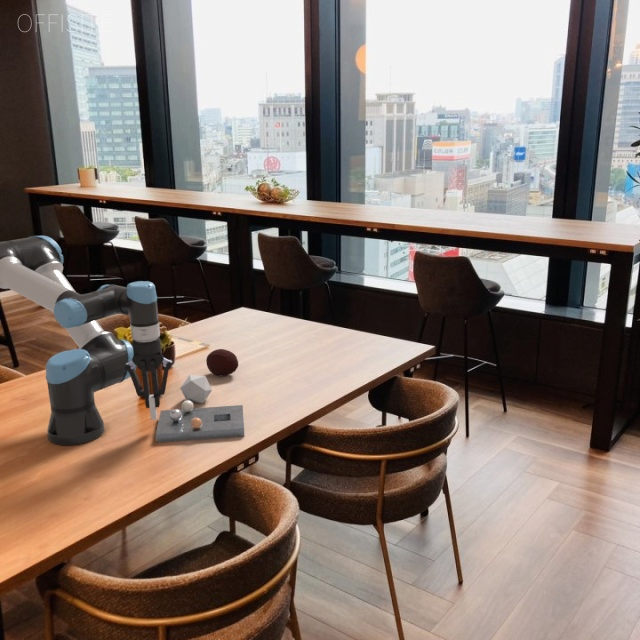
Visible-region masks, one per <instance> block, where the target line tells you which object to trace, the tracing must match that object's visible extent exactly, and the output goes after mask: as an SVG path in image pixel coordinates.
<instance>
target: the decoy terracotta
mask: <svg viewBox="0 0 640 640" xmlns="http://www.w3.org/2000/svg"><path fill="white" fill-rule="evenodd" d="M201 425H202V421H201V419H199V418H194V419H193V420H192V421H191V426H192V427H193V428H195V429H197V428H200V427H201Z"/></svg>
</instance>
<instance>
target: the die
mask: <svg viewBox="0 0 640 640" xmlns="http://www.w3.org/2000/svg"><path fill="white" fill-rule="evenodd" d="M179 389H180V391H181V393H182V395H183V397H184V398H185V401H186V400H189V401H191V402H192V403H193V404H204V403H205V401H206V400H207V398H208V397H209V396H210V395H211V393H212V392H213V389H212V386H211V385H210V383H209V381H208V378H207V377H206V375H196V374H189V375H188V377H187V378H186V379H185V381H184V382H183V383H182V384H181V386H180V388H179Z"/></svg>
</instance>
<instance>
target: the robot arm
mask: <svg viewBox="0 0 640 640" xmlns="http://www.w3.org/2000/svg"><path fill="white" fill-rule="evenodd" d="M63 264H64V255H63V254H62V249H61V246H60V245H59V244H58V243H57V242H56V241H55V240H54V239H53V238H52V237H50V236H47V235H31V236H28V237H24V238H18V239H12V240H6V241H0V289H4V290H8V289H9V290H11V291H13V292H14V293H17V294H18V295H20V296H22V297H24V298H26V299H28V300H29V301H32V302H33V303H34V304H37V305H39V306H41V307H43V308H45V309H46V310H48V311H50V312H52V313H53V317H54V319H55V320H56V322H58V324H59V325H60V327H62V328H64V329H65V330H66V332H67V333H68V335H69V336H70V337H71V339H72V341H74V344H76V345H77V347H78V348H73V349H70V350H64V351H61V352H58V353H55V354H54V355H52V356H51V357H50V358H49V359H48V360H47V361H46V364H45V379H46V384H47V390H48V396H49V403H50V405H49V406H50V411H51V412H50V417H49V421H48V426H47V439H48V441H49V442H50V443H52V444H54V445H58V446H75V445H81V444H86V443H89V442H92V441H94V440H96V439H98V438H99V437H101V436H103V434H104V432H105V423H104V420H103V418H102V415H101V414H100V412H99V410H98V408H97V406H96V403H95V401H96V400H95V393H96V392H99V391H102V390H103V389H107V388H109V387H111V386H114V385H116V384H120V383H123V382H124V381H125V380H128V379H129V378H131V381H132V384H133V386H134V388H135V392H136V395H137V396H138V397H143V398H144V404H145V408H146V409H149V414H150V415H149V416H150V420H153V421H156V420H157V419H158V412H157V411H158V410H157V408H159V407H160V405H161V402H160V401H161V400H160V399H161V398H160V396H163V395H165V393H166V388H167V382H168V377H169V371H170V369H171V366H172V363H173V360H172V358H171V359H167V358H166V357H165V355H164V353H163V351H162V341H161V338H160V336H161V331H160V321H159V320H160V319H159V309H158V295H157V291H156V285H155V284H154V283H153V282H151V281H149V280H146V281H143V280H141V281H140V280H138V281H133V282H130V283H127V286H122V285H116V284H104V285H101V286H100V287H98V289H97V290H96V291H91V292H89V293H82V294H80V293H78V292H77V291H76V290H75V289H74V288H73V286H72V285H71V283H70V282H69V281H68V279H67V278H66V276H65V275H64V274H63V270H64V266H63ZM115 315H126V316H129V320H130V322H129V323H130V324H129V325H130V333H131V339H133V340H132V344H131V343H130V342H129V341H128V340H125V339H117V338H116V336H115V335H114V334H113V332H111V331H105V330H104V329H103V328H102V326H101V324H99V322H98V320H102V319H104V318H108V317H112V316H115ZM162 363H163V364H162ZM161 364H162V366H163V367H164V369H163V375H162V380H161V386H159V378H158V377H159V376H158V369H159V367H160V366H161ZM137 368H138V369H139V370H140V371H141V376H142V377H141V378H142V385H141V381H140V379H139V376H138V373H137V371H136V369H137ZM148 372H150V374H151V379H152V380H151V381H152V391H153V394H151V393H150V383H149V373H148ZM142 386H143V387H142ZM159 387H160V388H159Z"/></svg>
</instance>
